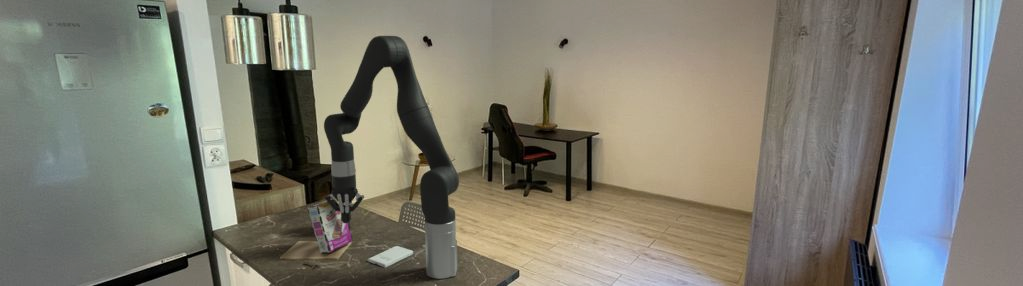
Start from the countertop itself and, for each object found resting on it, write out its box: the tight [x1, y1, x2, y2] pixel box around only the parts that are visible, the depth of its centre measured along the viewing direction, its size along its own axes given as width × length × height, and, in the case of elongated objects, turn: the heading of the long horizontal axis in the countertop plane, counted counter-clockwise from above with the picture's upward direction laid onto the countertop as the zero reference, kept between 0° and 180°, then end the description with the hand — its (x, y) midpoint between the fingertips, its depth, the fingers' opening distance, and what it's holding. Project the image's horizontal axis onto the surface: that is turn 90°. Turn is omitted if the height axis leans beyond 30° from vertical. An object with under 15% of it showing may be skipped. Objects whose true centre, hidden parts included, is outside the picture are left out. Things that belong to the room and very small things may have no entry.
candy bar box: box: [307, 199, 354, 254], centre depth 161 cm, size 11×5×16 cm, turn 157°
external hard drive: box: [367, 245, 414, 268], centre depth 157 cm, size 2×8×12 cm
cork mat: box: [279, 240, 353, 261], centre depth 162 cm, size 19×14×1 cm
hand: (346, 222), depth 161 cm, fingers closed
